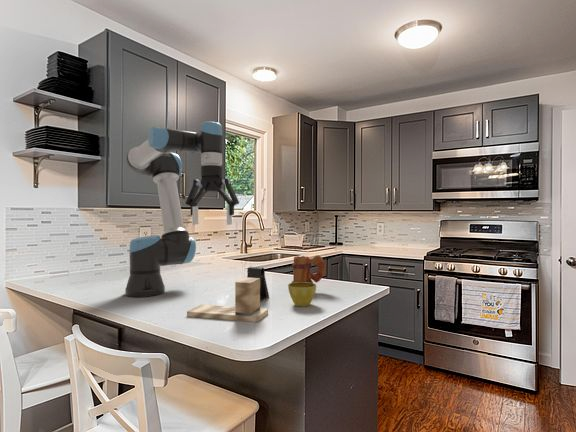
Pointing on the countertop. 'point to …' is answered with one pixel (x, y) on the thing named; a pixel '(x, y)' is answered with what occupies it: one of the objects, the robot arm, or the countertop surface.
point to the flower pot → (302, 292)
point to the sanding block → (247, 296)
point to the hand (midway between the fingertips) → (212, 224)
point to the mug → (307, 269)
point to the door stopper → (260, 273)
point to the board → (224, 313)
